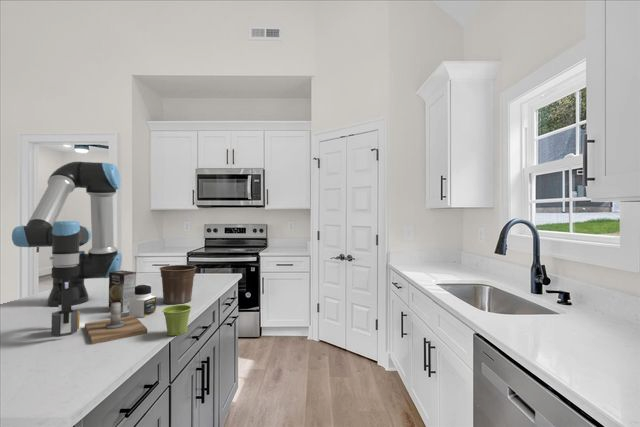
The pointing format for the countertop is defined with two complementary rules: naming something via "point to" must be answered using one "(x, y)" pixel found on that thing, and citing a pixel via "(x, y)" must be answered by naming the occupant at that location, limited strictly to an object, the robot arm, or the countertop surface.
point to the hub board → (114, 327)
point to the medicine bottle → (142, 302)
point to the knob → (57, 323)
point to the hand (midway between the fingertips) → (64, 327)
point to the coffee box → (121, 288)
